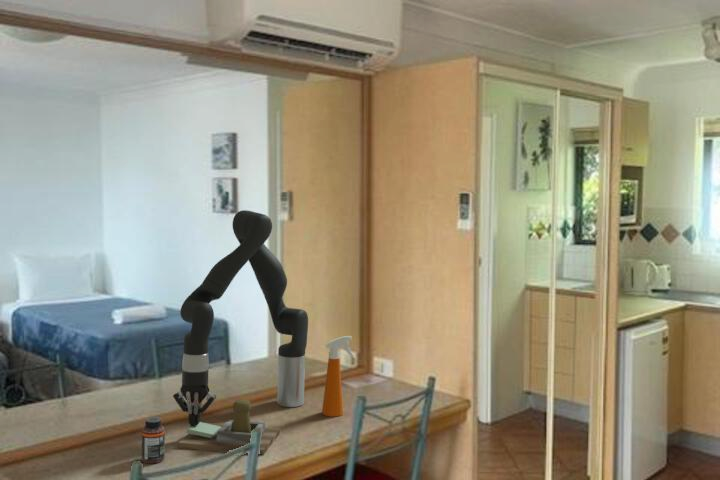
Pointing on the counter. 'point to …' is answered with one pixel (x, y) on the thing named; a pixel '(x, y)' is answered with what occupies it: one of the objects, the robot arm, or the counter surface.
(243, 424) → the olive knobbed cylinder
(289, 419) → the counter surface
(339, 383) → the spray bottle
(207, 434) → the latch flap
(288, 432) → the counter surface
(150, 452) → the supplement bottle
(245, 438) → the holder board
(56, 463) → the counter surface
